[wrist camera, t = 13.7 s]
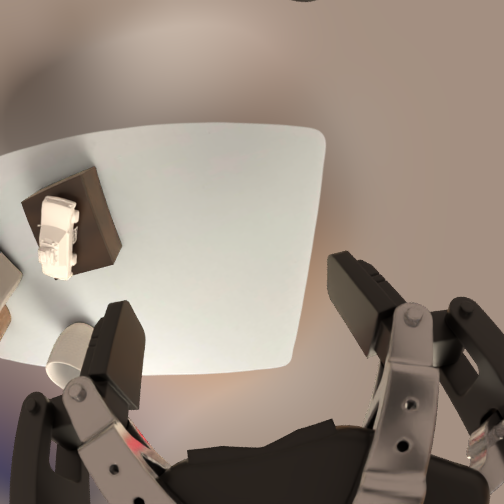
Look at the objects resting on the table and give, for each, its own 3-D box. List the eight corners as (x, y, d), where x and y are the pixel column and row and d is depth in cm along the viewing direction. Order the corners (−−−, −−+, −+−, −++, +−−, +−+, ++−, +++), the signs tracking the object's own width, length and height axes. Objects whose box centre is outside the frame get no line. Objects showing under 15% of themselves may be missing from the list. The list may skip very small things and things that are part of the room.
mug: (117, 361, 54) (110, 408, 42) (77, 358, 51) (65, 401, 40) (100, 315, 47) (85, 365, 36) (56, 312, 44) (36, 357, 33)
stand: (38, 190, 33) (20, 202, 28) (95, 166, 34) (80, 175, 29) (67, 261, 40) (55, 280, 35) (122, 246, 41) (113, 264, 36)
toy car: (84, 197, 31) (63, 216, 25) (79, 271, 35) (63, 297, 29) (49, 189, 29) (25, 206, 23) (48, 262, 33) (29, 286, 27)
